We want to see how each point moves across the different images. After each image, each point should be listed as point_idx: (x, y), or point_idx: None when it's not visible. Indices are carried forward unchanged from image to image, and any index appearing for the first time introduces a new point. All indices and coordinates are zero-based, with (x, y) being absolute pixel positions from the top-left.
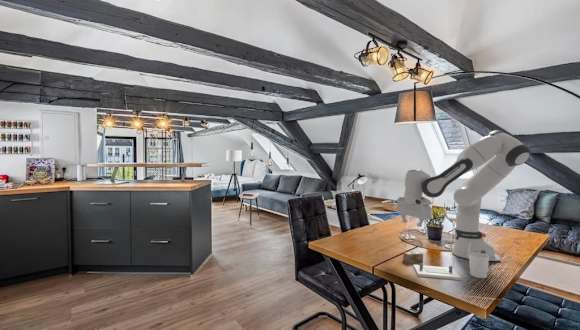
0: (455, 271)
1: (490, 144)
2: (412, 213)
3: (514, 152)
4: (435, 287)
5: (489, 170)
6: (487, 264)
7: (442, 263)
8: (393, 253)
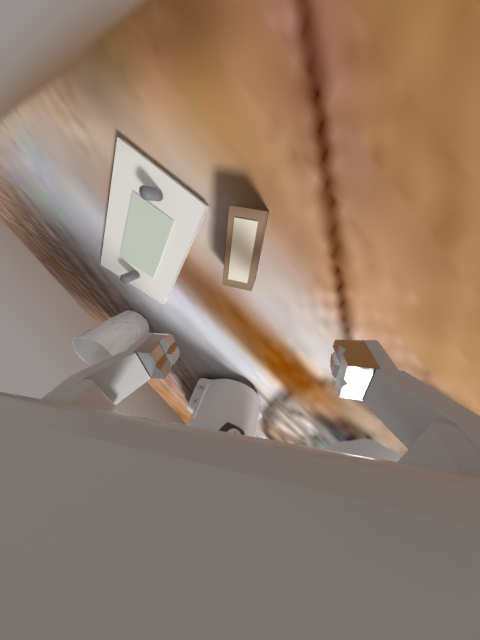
0: (139, 289)
1: None
2: (78, 511)
3: None
4: (36, 123)
5: None
6: (95, 342)
7: (212, 320)
8: (364, 248)
